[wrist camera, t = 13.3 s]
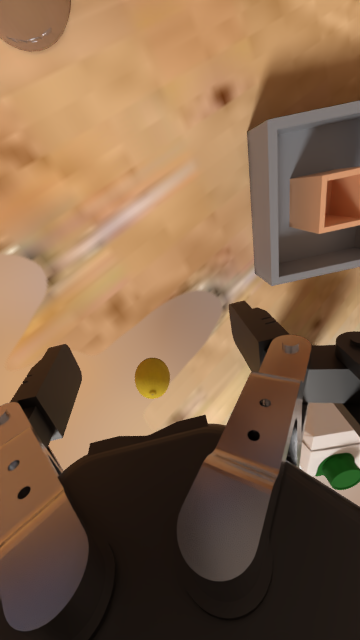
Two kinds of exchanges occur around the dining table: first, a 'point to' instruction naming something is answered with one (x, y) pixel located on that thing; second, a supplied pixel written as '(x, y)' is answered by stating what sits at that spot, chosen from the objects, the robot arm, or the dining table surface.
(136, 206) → the dining table surface
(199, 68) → the dining table surface
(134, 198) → the dining table surface
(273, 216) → the big crate
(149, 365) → the lemon
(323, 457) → the milk carton
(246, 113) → the dining table surface
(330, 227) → the box
